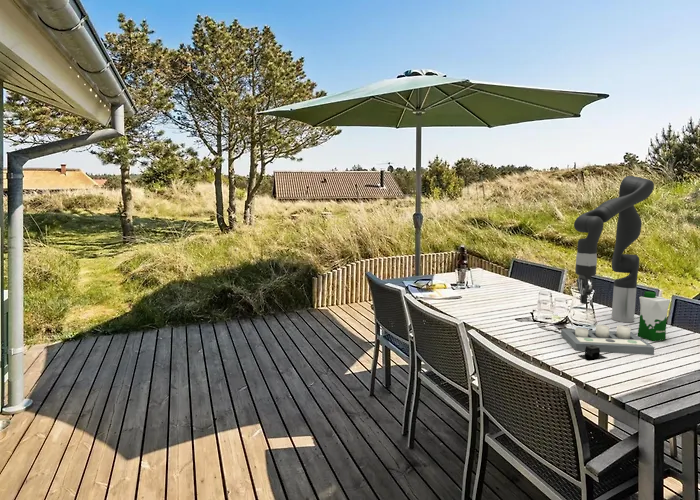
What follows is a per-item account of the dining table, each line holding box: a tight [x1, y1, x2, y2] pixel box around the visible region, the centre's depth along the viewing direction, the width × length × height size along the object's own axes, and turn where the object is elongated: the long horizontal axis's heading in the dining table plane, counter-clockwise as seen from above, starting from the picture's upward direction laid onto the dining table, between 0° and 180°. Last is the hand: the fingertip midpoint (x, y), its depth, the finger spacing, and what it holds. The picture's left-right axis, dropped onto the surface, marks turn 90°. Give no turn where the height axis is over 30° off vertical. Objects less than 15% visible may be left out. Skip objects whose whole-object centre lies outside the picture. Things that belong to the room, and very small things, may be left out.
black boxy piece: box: [577, 345, 608, 362], centre depth 151 cm, size 12×7×5 cm, turn 104°
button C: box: [574, 327, 589, 337], centre depth 168 cm, size 5×5×5 cm
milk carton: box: [636, 290, 671, 343], centre depth 169 cm, size 9×9×20 cm
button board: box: [560, 328, 656, 356], centre depth 164 cm, size 18×28×3 cm, turn 79°
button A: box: [615, 325, 632, 339], centre depth 164 cm, size 5×5×5 cm
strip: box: [576, 337, 647, 346], centre depth 159 cm, size 5×24×1 cm, turn 79°
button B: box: [595, 324, 610, 338], centre depth 166 cm, size 5×5×5 cm
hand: (583, 303), depth 166 cm, fingers closed
